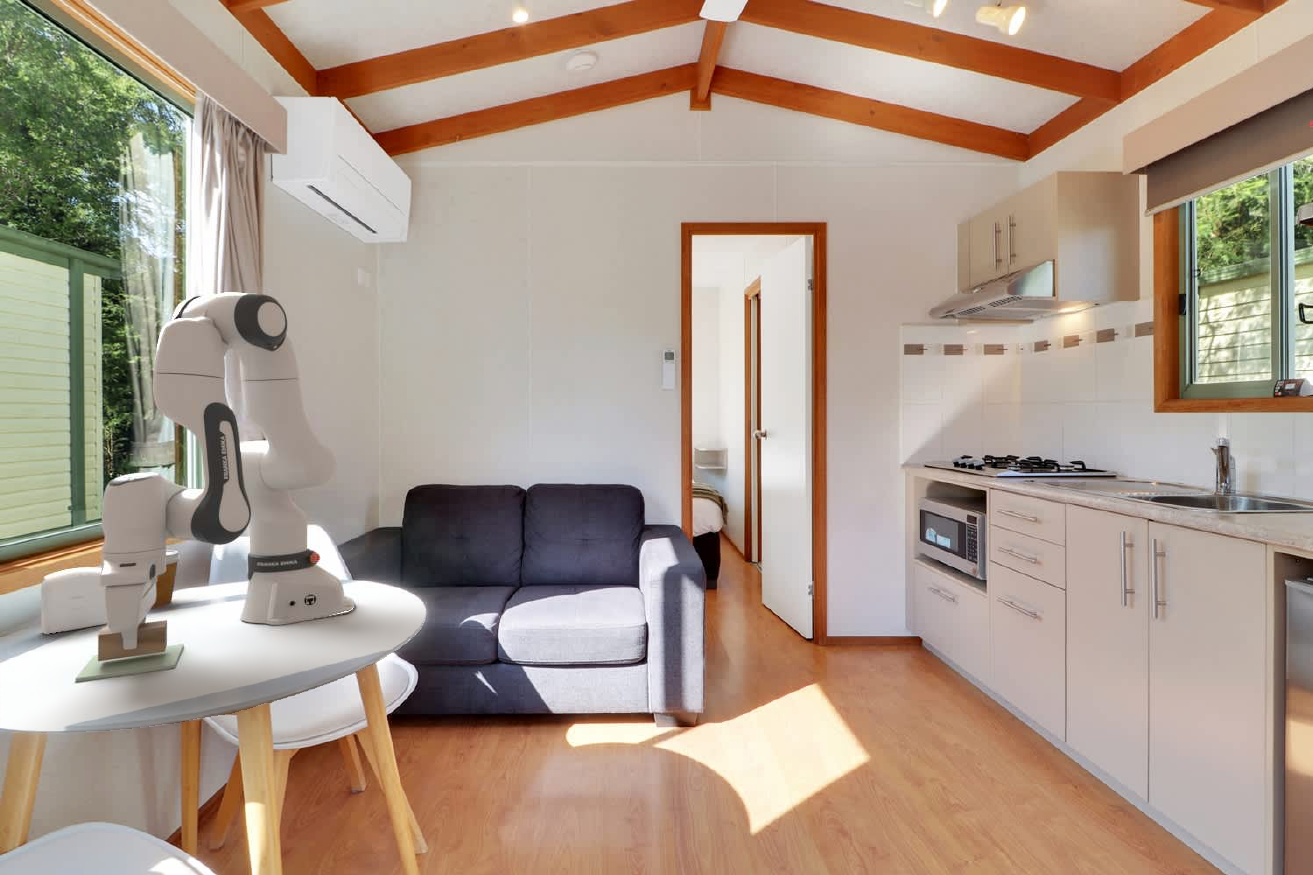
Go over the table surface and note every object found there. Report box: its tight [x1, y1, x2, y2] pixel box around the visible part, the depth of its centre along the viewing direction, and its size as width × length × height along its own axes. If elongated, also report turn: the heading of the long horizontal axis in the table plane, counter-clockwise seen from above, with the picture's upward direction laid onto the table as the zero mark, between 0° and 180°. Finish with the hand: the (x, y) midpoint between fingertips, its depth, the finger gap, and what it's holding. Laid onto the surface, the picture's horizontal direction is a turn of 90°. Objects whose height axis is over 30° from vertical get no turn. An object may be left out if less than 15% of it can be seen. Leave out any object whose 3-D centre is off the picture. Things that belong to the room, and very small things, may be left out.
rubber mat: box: [75, 643, 185, 683], centre depth 112 cm, size 13×12×1 cm
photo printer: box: [40, 566, 107, 635], centre depth 130 cm, size 10×4×12 cm, turn 140°
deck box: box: [97, 619, 168, 661], centre depth 112 cm, size 4×9×4 cm, turn 124°
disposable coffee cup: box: [151, 549, 181, 609], centre depth 148 cm, size 10×10×12 cm
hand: (134, 642), depth 112 cm, fingers closed on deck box, 5 cm apart
